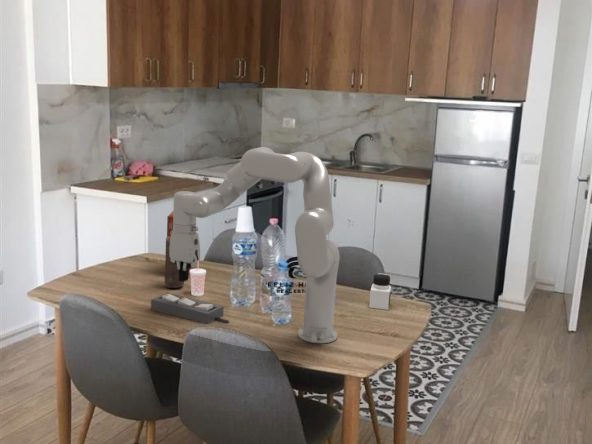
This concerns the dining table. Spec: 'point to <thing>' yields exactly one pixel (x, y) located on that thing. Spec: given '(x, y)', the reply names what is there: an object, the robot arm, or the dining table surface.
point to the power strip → (188, 309)
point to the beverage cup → (197, 281)
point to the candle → (171, 270)
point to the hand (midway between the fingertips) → (183, 280)
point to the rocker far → (170, 298)
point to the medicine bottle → (380, 292)
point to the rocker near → (204, 306)
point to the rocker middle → (186, 302)
